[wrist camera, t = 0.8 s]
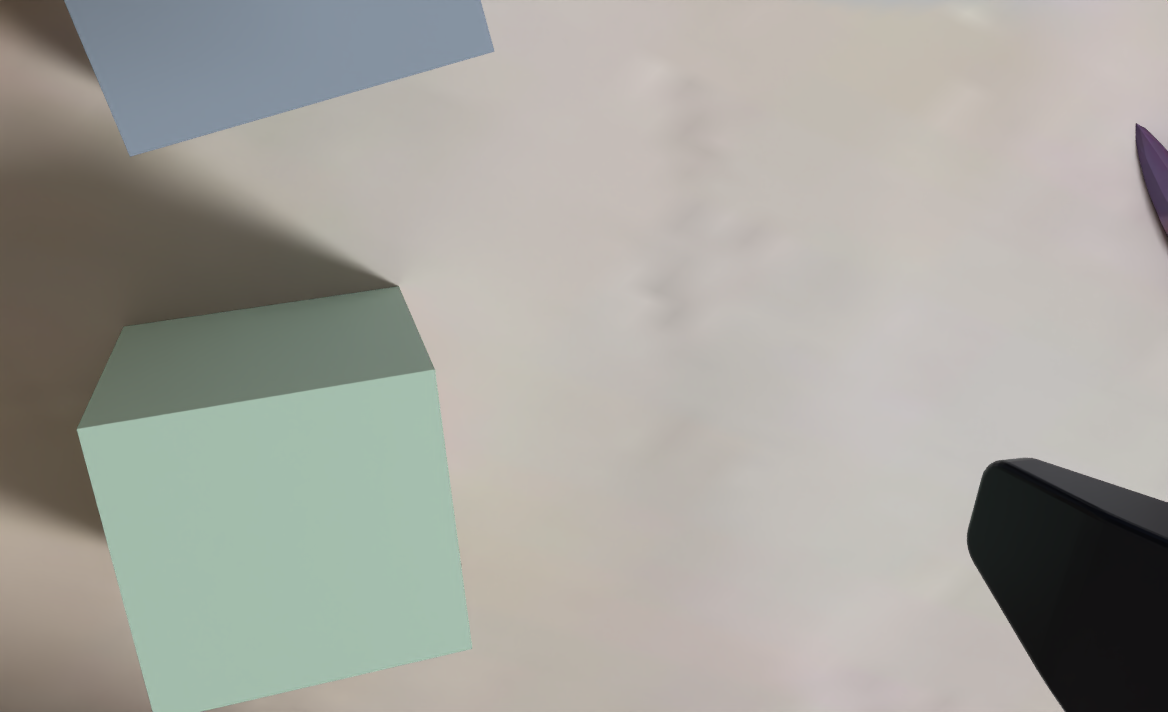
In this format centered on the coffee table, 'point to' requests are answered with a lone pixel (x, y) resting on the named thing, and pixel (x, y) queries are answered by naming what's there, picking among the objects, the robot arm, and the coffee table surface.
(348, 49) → the slate block
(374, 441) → the sage block
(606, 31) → the coffee table surface
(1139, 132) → the toy
